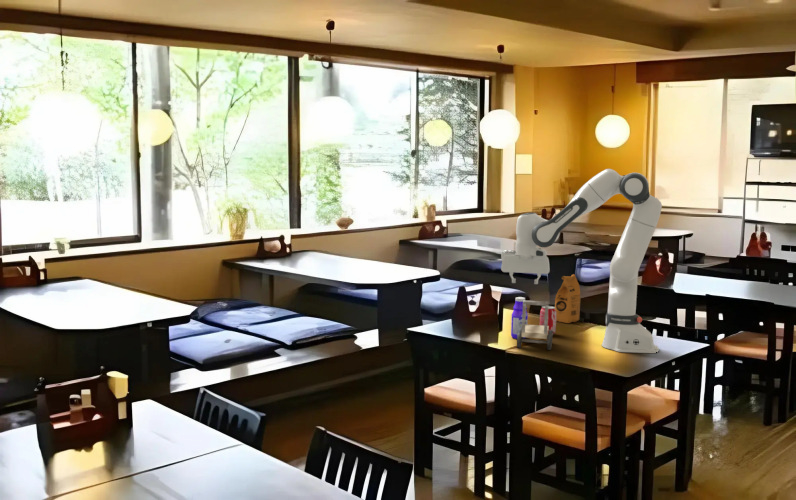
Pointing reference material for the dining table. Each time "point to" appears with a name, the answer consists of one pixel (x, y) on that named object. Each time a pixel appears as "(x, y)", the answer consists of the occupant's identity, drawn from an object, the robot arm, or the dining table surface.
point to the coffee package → (568, 300)
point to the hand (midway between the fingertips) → (524, 283)
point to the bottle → (517, 317)
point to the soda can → (549, 318)
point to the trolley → (535, 327)
